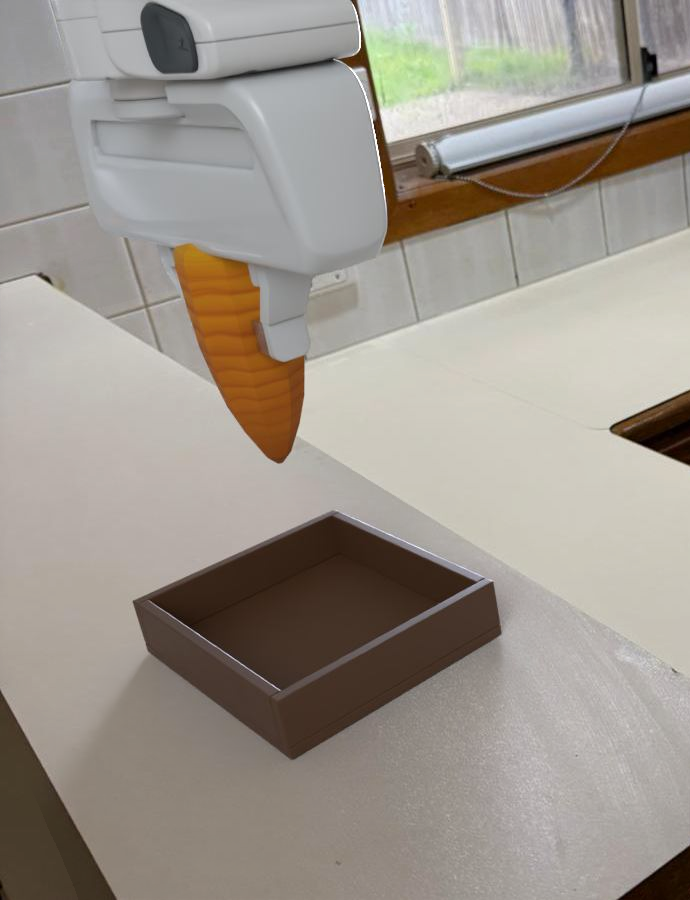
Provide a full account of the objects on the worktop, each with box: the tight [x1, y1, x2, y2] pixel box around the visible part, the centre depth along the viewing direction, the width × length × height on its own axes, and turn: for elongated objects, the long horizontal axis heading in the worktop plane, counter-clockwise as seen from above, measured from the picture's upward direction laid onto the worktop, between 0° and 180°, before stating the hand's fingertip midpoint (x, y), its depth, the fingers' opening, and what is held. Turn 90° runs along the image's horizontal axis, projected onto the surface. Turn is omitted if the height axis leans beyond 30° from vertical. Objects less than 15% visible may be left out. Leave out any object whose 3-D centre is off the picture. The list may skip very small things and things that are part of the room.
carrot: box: [174, 243, 306, 465], centre depth 51 cm, size 5×5×15 cm
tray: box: [132, 509, 502, 760], centre depth 58 cm, size 14×12×3 cm
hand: (251, 345), depth 52 cm, fingers closed on carrot, 5 cm apart
